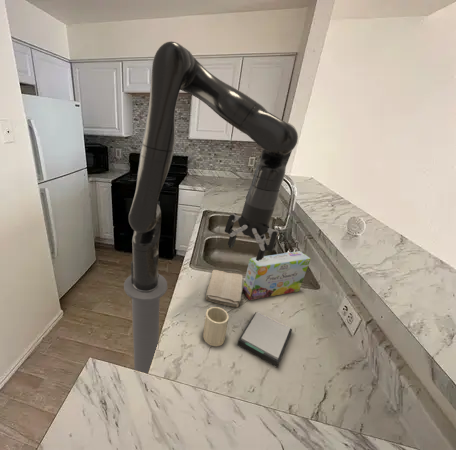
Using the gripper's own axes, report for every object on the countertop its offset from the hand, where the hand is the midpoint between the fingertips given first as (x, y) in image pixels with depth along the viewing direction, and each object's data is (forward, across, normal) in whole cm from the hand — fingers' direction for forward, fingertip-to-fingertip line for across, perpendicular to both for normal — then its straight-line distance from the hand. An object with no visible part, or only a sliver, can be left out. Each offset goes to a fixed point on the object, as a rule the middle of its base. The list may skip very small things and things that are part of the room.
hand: (244, 253), depth 75 cm
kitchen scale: (+22, -14, +4) cm, 26 cm away
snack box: (+22, -8, -19) cm, 30 cm away
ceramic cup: (+23, -3, +13) cm, 27 cm away
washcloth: (+23, +5, -9) cm, 25 cm away
